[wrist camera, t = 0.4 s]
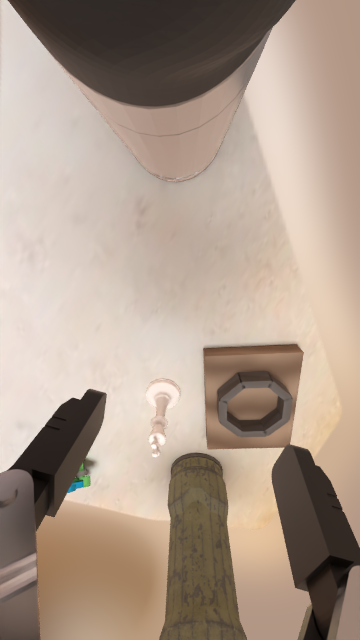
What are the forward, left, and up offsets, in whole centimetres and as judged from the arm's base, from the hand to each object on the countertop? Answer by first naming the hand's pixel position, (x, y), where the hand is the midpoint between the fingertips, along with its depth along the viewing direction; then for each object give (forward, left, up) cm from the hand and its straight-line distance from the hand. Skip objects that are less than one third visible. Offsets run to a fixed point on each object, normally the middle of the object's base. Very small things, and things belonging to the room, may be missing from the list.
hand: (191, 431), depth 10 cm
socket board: (+15, +8, -20) cm, 26 cm away
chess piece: (+14, -4, -20) cm, 25 cm away
